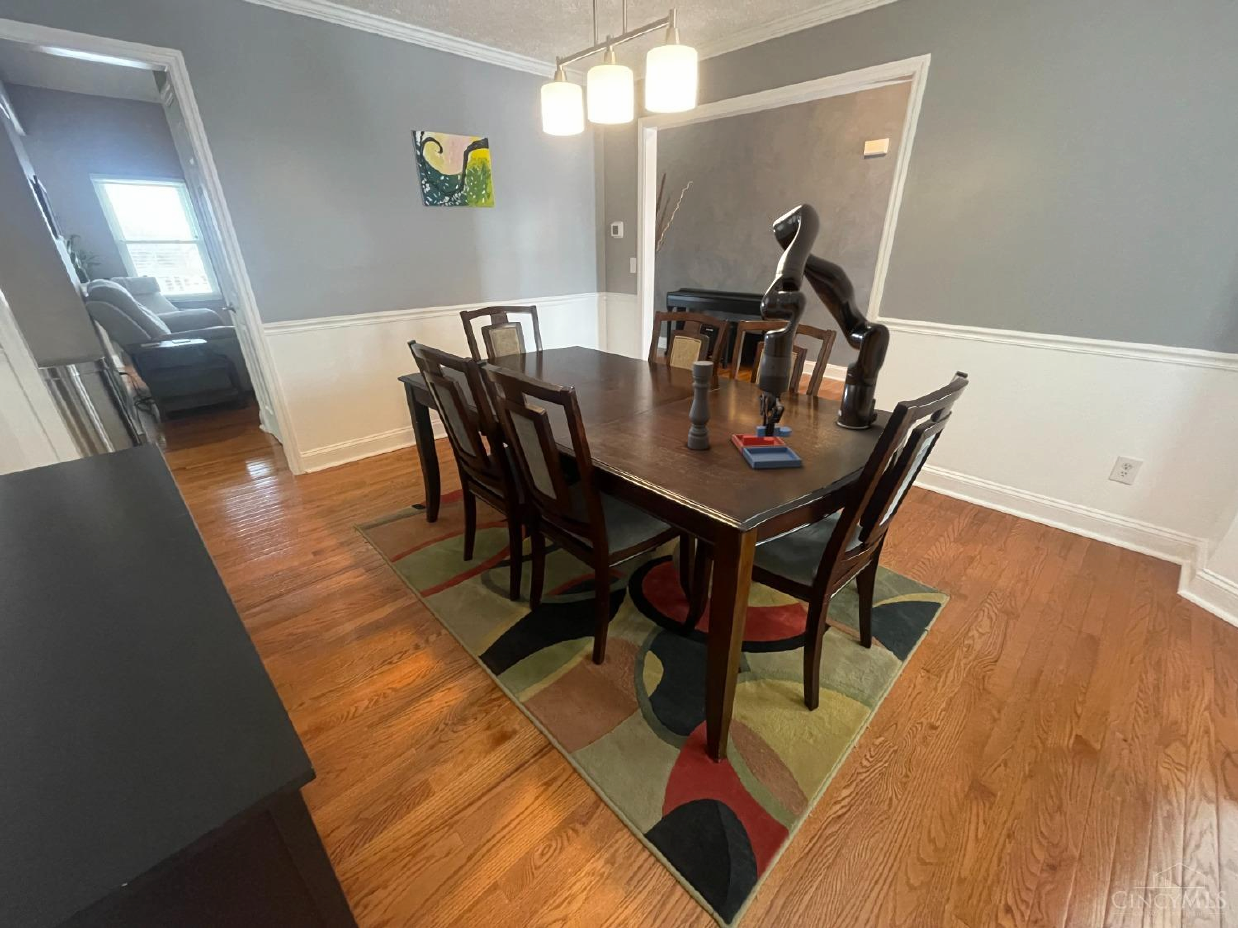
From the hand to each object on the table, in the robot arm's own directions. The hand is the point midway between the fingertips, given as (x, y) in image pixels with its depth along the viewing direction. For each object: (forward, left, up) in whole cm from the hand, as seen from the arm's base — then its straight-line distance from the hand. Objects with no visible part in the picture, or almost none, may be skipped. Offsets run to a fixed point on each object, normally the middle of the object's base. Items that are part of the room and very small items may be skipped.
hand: (767, 434), depth 134 cm
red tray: (-2, -11, -8) cm, 13 cm away
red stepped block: (-2, -11, -7) cm, 13 cm away
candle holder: (+16, -12, -8) cm, 22 cm away
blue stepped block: (-2, 0, 0) cm, 2 cm away
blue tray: (-2, 0, -8) cm, 8 cm away
